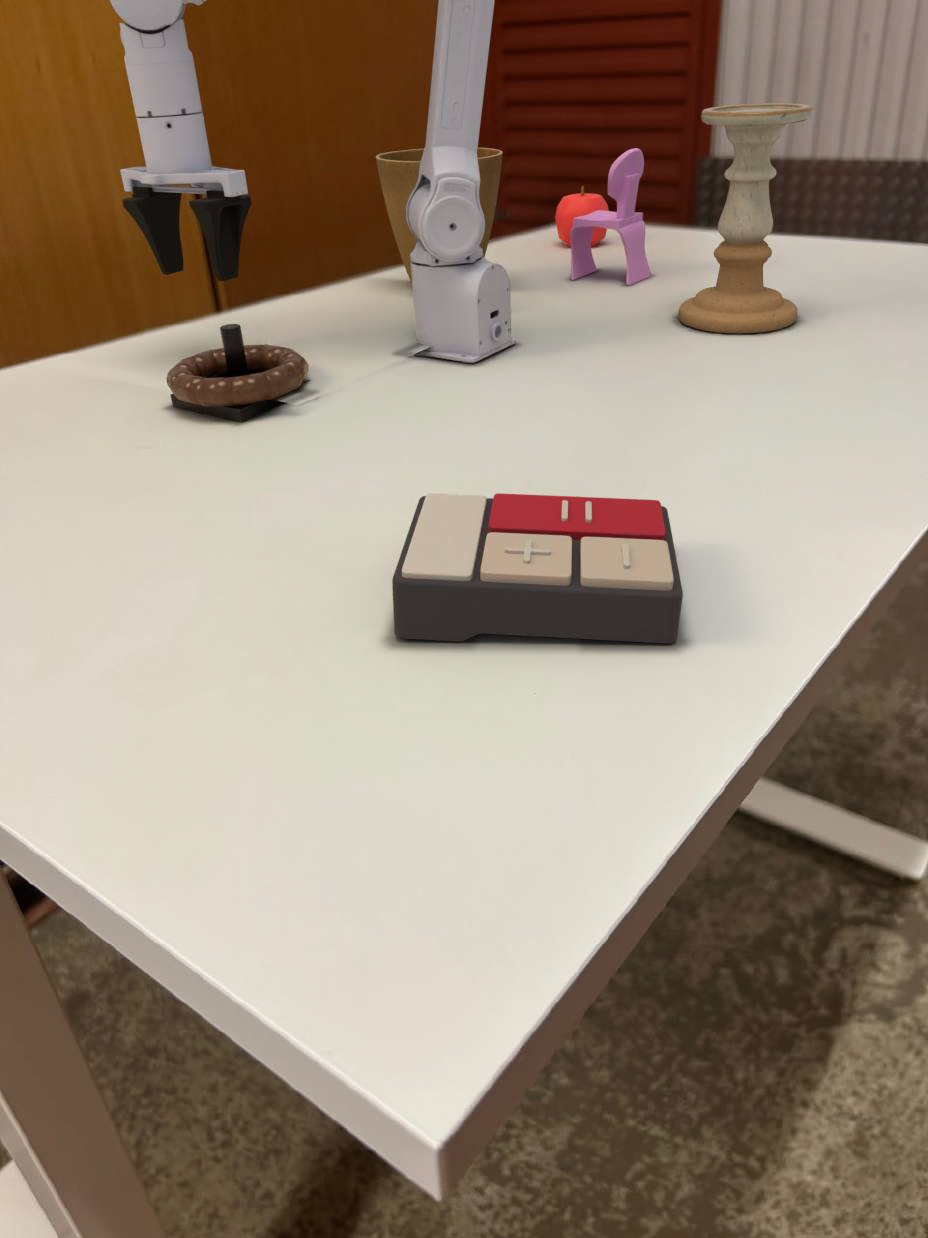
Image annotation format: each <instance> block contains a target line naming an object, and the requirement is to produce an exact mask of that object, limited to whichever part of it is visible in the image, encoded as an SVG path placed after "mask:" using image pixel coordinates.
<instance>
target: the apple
mask: <svg viewBox="0 0 928 1238" xmlns="http://www.w3.org/2000/svg"><path fill="white" fill-rule="evenodd" d="M580 186H581V185H580ZM598 210H602V211H610V210H609V204H608V203H607V202H606V200H605V198H604V196H603V195H601V194H598V193H591V192H590V193H587V192H585V186H584V185H582V186H581V187H580V193H573V194H568V195H565V196H562V198H561V199H560V201H559V202H558V204H557V206H556V211H555V215H554V219H555V225H556V230H557V234H558V236H557V237H558V239H559V240H560V241H562V242H563V243H564V244H566V245H567V246H568V247H569V248H571V242H570V230H571V228H572V227H573V218H576V217H580V216H585V215H588V214H590V213H592V212H594V211H598ZM607 231H608V229H607V228H602V227H595V228H594V231H593V234H592V239H591V248H592V247H594V246H596V245H597V244H598V243H600V242H601V241H602V240H604V239H605V238H606V235H607Z"/></svg>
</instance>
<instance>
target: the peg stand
mask: <svg viewBox="0 0 928 1238" xmlns="http://www.w3.org/2000/svg"><path fill="white" fill-rule="evenodd" d="M219 331H220V335H221V342H222V348H224V353H225V359H226V364H227V370H228V374H224V375H219V376H215V378H226V377H239V376H245V375H250V374H256V373H261V372H264V371H248V367H247V361H246V355H245V349H244V345H245V344H244V337H243V332H242V326H241V325H240V324H238V323H227V324H224V325H221V326H220V327H219ZM310 381H311V379H307V378H305V379H304V380H303V382H302V383H301V385H303V384H305V383H307V382H310ZM170 399H171V404H172V407H173V408H177V409H181V410H186V411H189V412H194V413H199V414H203V415H206V416H207V415H208V416H213V417H216V418H221V419H225V420H228V421H229V420H230V421H234V422H239V423H244V422H245V421H248V420H250V419H253V418H255V417H257V416H260V415H262V414H265V413H266V412H269V411H271V410H274V409H276V408H278V407H281V406H284V405H285V404H287V402H286V401H282V400H281V401H280V400H277V399H271V400H267V401H262V402H256V403H251V404H246V405H240V406H202V405H197V404H193V403H188V402H184V401H181V400H179V399H178V398H176V396H175V395H174V394H173V393H170Z"/></svg>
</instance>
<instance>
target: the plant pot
mask: <svg viewBox="0 0 928 1238" xmlns="http://www.w3.org/2000/svg"><path fill="white" fill-rule="evenodd" d="M424 149H425V148H415V149H404V150H397V151H388V152H383V153H379V154H377V155H375V160H376V166H377V172H378V177H379V182H380V187H381V191H382V195H383V199H384V204H385V208H386V212H387V215H388V219H389V222H390V227H391V229H392V230H391V231H392V233H393V235H394V239H395V243H396V246H397V248H398V251H399V255H400V258H401V260H402V263H403V266H404V268H405V271H406V274H407V276H408V278H409V281H410V283H411V284H412V274H411V260H410V254H411V253H412V251H413V250H414V249H415V247H416V243H417V242H418V239H417V238H416V237H415V236H414V234H413V233H412V232H411V230H410V228H409V226H408V223H407V219H406V207H407V202H408V200H409V197H410V195H411V194H412V192H413V190H414V189H415V187H416V184H417V181H418V177H419V168H420V163H421V159H422V156H423V152H424ZM503 153H504V152H503V151H502V150H501V149H497V148H489V147H478V148H477V159H478V166H479V173H480V188H479V200H480V205H481V208H482V211H483V214H484V219H485V231H484V235H483V239H482V241H481V243H480V245H479V246H480V248H481V249H483V257H484V258H485V257H486V254H487V249H488V247H489V246H488V245H489V242H490V238H491V232H492V228H493V224H494V219H495V213H496V208H497V207H496V206H497V200H498V195H499V187H500V181H501V180H500V179H501V171H502V163H503ZM485 259H486V258H485Z"/></svg>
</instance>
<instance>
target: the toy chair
mask: <svg viewBox="0 0 928 1238" xmlns="http://www.w3.org/2000/svg"><path fill="white" fill-rule="evenodd" d="M644 158H645V157H644V154H643V151H642V149H640V148H637V147H634V148H630V149H628V150H626V151H625V152H623V153H621V155H620V156H618V157H617V158H616V159H615V160H614V162H612V164H611V166H610V168H609V170H608V171H609V172H608V177H607V195H608V196H609V197H611V199H614V201H615V202H616V211H611V210H609V211H602V210H598V211H594V212H592V213H590V214H588V215H585V216H580V217H576V218H573V227H572V228H571V230H570V242H571V247H570V256H571V261H570V263H571V265H570V266H571V267H570V268H571V269H570V280H571V281H575V280H577V279H580V278H582V277H585V276H588V275H590V274H592V273H593V272H596V271H597V272H598V268H597V265H596V263H595V260H594V256H593V253H592V247H591V239H592V234H593V231H594V228H595V227H602V228H607V230H613V231H616V232H617V233H618V235H619V237H620V240H621V242H622V245H623V248H624V252H625V260H626V283H625V284H626V286H632V285H634V284H636V283H639V282H640V281H643V280H644V279H646V278H649V277H651V276H652V272H651V269H650V266H649V261H648V259H647V256H646V255H647V254H646V224H645V221H644V220H643V219H644V212H639V211H638V212H635V211H636V204H637V197H638V191H639V186H640V185H639V184H640V180H641V178H642V176H643V174H644V169H645V168H644V167H645V159H644Z"/></svg>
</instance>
